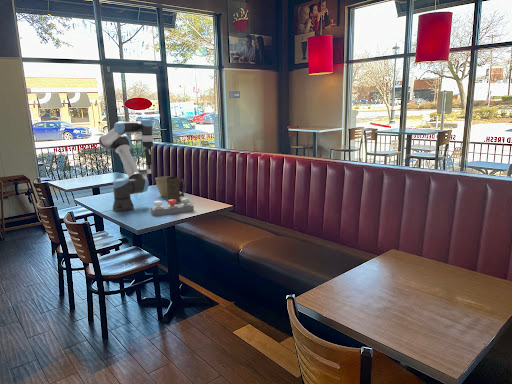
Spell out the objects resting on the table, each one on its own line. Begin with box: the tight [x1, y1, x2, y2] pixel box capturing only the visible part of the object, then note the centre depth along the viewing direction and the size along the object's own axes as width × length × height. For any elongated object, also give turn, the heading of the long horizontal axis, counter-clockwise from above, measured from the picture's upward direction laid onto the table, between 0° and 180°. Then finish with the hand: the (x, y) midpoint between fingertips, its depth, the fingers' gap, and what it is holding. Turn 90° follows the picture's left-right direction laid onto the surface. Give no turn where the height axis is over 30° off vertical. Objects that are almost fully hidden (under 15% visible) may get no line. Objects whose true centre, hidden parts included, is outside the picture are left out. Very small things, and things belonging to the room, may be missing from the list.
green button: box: [180, 197, 191, 204], centre depth 276 cm, size 6×6×4 cm
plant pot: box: [155, 176, 168, 197], centre depth 328 cm, size 15×15×16 cm
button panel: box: [150, 202, 195, 217], centre depth 273 cm, size 29×10×4 cm, turn 115°
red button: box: [167, 199, 177, 206], centre depth 272 cm, size 6×6×4 cm
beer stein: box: [166, 176, 186, 203], centre depth 308 cm, size 15×11×20 cm
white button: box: [153, 200, 163, 208], centre depth 268 cm, size 6×6×4 cm
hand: (149, 173), depth 273 cm, fingers closed
